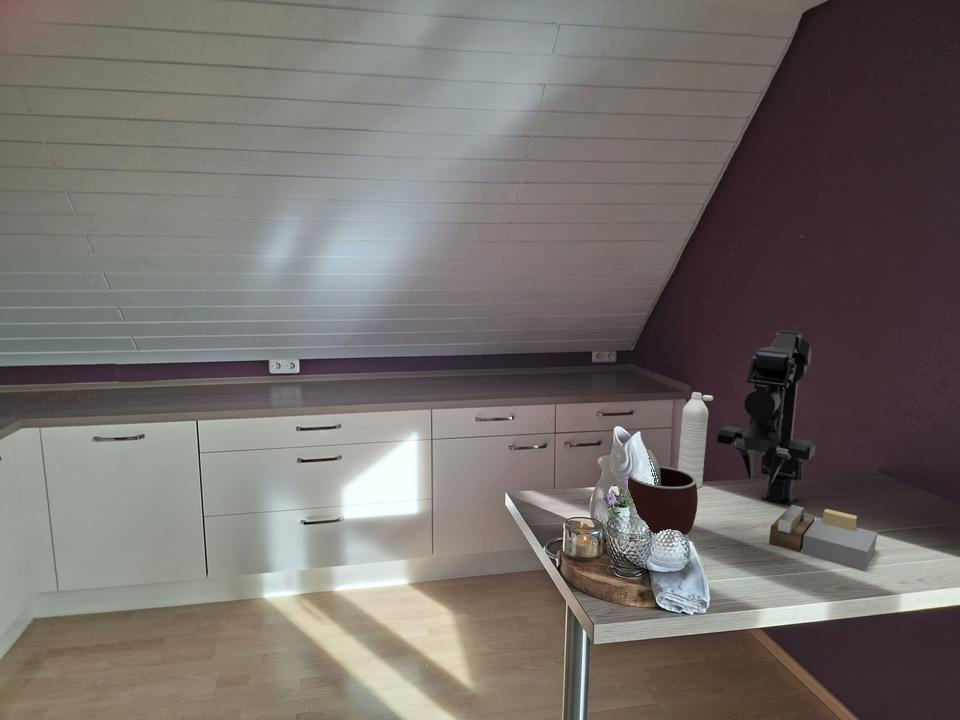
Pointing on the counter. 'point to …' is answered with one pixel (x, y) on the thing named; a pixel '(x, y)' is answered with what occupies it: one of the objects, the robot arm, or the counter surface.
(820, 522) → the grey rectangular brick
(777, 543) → the jamb block
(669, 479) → the mate gourd
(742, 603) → the counter surface
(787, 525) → the bar
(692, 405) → the water bottle
